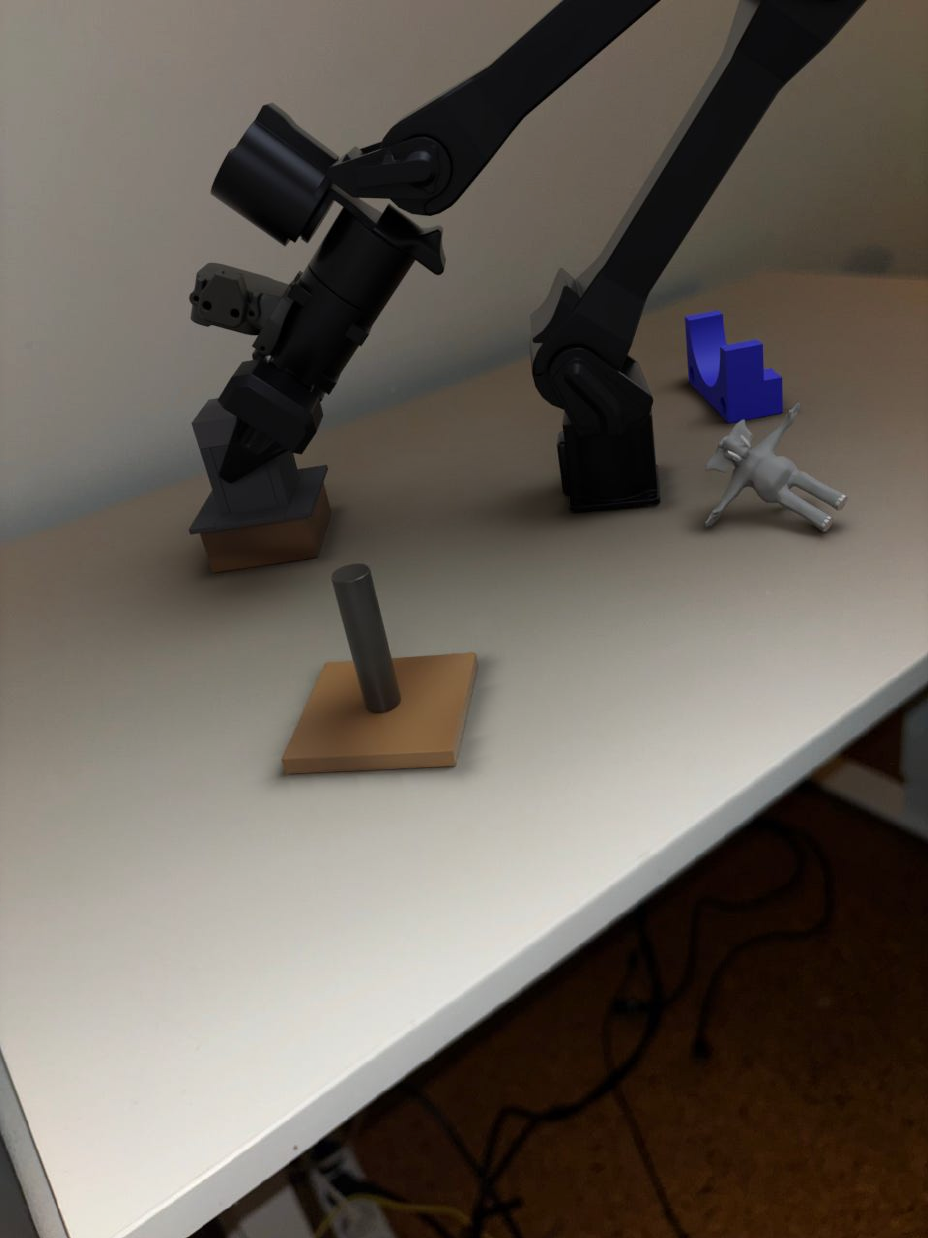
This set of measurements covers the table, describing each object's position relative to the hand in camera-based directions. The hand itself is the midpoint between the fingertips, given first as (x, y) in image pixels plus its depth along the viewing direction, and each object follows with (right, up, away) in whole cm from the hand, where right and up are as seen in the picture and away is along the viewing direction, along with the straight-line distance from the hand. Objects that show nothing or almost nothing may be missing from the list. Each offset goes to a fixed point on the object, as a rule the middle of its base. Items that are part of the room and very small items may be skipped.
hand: (232, 464), depth 76 cm
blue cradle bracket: (+41, +8, +14) cm, 44 cm away
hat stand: (+13, -17, -20) cm, 29 cm away
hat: (+2, -2, +1) cm, 3 cm away
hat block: (+2, -5, +3) cm, 7 cm away
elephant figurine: (+38, -4, -7) cm, 39 cm away
